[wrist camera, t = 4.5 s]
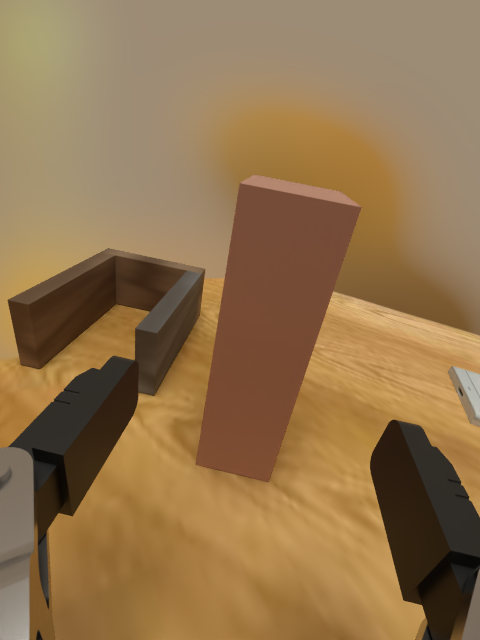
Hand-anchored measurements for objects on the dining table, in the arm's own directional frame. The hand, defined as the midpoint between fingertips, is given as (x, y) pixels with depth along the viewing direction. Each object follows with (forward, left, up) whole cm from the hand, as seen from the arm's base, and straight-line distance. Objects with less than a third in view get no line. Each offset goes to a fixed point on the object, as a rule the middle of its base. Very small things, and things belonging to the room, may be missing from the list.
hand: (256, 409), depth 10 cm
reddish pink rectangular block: (0, -8, -10) cm, 13 cm away
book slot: (+12, -16, -10) cm, 22 cm away
